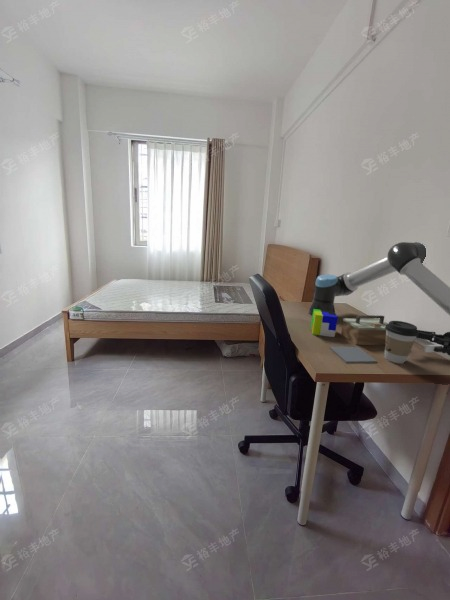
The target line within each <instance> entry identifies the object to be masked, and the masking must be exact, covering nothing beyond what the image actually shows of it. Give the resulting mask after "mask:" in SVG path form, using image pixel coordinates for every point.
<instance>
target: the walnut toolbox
mask: <svg viewBox="0 0 450 600" xmlns="http://www.w3.org/2000/svg"><path fill="white" fill-rule="evenodd" d="M342 320H343V321H342V326H341V332H340V334H341V335H342V336H344V337H345V338H346V339H348V340H349V341H351V342H352V343H353V344H354V345H358V346H359V345H364V346H365V345H366V346H367V345H368V346H369V345H370V346H371V345H383V346H385V341H386V329H385V327H386V325H387V324H389V322H385V315H378V314H377V315H374V314H373V315H371V314H370V315H369V314H368V315H367V314H364V315H363V314H362V315H361V314H358V315H357V314H356V318H355V317H354V318H353V317H351V318H350V317H348V318H347V317H345V318H344V317H343V318H342Z"/></svg>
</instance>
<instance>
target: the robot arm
mask: <svg viewBox="0 0 450 600" xmlns="http://www.w3.org/2000/svg"><path fill="white" fill-rule="evenodd" d="M423 244H424V243H422V244H421V242H417V241H416V242H406V241H405V242H403V241H402V242H401V241H400V242H398V243H395V244H394V245H392V246H391V247H390V248H389V250H388V252H387V256H386V257H383V258H382V259H379V260H377V261H374V262H373V263H371V264H368V265H366V266H364V267H362V268H360V269H358V270H356V271H354V272H352V273H351V272H345V273H343V274H341V275H338V276H336V275H334V274H320V275H318V276H317V277H316V280H315V284H314V285H315V286H314V292H313V299H312V302H311V304H310V306H309V308H308V312H309V313H308V314H309V315H310V314H311V316H312V315H313V309H318V310H327V311H334V312H335V313H336V309H335V297H344V296H348V295H351V294H353V293H354V292H355V291H357V290H358V288H359V287H361V286H364V285H365V284H368V283H371V282H374V281H375V280H377V279H378V280H379V279H381V278H382V277H385V276H387V275H389V274H392V273H395V272H398V274H400V275H403V276H405V277H407V278H408V279H409V280H410V281H411V282H412V283H413V284H415V286H417V287H418V288H419V289H420V290H421V291H422V292H423V293H424V294H425V295H427V297H428V298H430V300H432V301H433V302H434V303H435V304H436V305H437V306H439V308H441V310H443V311H444V312H445V314H447V315H448V316H450V286H449V285H448V284H447V283H445V282H444V281H443V280H442V279H441V278H440V277H438V276H437V275H436V274H434V273H433V272H432V271H431V270H430V269H429V268H427V267H426V266H425V264H424V265H423V264H422V263H423V261H424V259H425V257H426V248H425V246H424V245H425V244H424V245H423ZM417 330H418V331H419V333H418V334H419V335H418V336H416V338H417V339H421V340H425V341H429V342H430V343H435V344H425V345H424V349H423V353H442V354H447V355H448V356H450V331H447V332H445V333H443V334H441V333H439V334H437V333H436V332H435V331H427V330H422V329H417Z"/></svg>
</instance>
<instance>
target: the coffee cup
mask: <svg viewBox="0 0 450 600" xmlns="http://www.w3.org/2000/svg"><path fill="white" fill-rule="evenodd" d="M385 329H386V341H385V345H384V358H385V360H386V361H389V362H391V363H394V364H405V363H404V362H406V361H407V360H408V357H409V356H410V352H411V350H412V348H413V345H414V343H415V341H416V336H418V335H419V334H418V333H419V331H418V330H419V329H418V327H417V326H416V325H415V324H412V323H411V322H410V323H409V322H406V321H402V320H390V321H389V322H388V324H387V325H386V327H385Z"/></svg>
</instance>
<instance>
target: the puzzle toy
mask: <svg viewBox="0 0 450 600" xmlns="http://www.w3.org/2000/svg"><path fill="white" fill-rule="evenodd" d="M311 316H312V317H311V323H310V330H311V333H312V335H314V336H321V337H332V338H335V337H336V336H335V335H336V332H337V325H338V320H339V319H338V315H337V314H336V311H335V312H334V311H327V310H318V309H313V315H311Z"/></svg>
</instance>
